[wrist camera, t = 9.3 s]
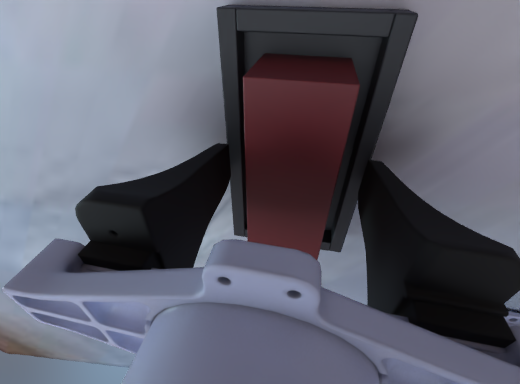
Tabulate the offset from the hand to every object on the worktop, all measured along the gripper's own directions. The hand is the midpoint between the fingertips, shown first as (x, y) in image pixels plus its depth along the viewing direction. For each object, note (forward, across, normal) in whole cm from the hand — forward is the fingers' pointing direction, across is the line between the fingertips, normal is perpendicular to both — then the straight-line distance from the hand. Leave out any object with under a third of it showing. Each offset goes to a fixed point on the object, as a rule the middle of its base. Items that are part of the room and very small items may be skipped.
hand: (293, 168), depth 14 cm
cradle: (+2, 0, 0) cm, 2 cm away
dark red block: (+2, 0, 0) cm, 2 cm away
